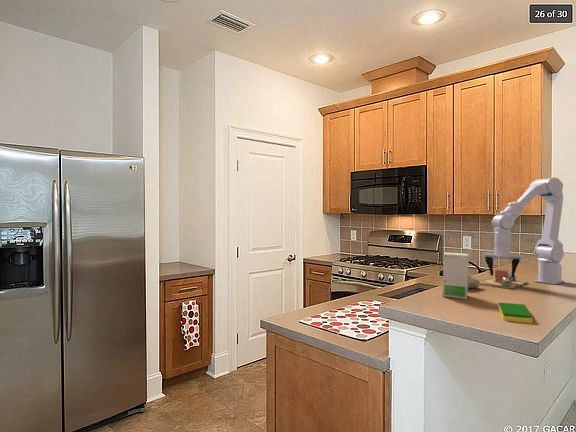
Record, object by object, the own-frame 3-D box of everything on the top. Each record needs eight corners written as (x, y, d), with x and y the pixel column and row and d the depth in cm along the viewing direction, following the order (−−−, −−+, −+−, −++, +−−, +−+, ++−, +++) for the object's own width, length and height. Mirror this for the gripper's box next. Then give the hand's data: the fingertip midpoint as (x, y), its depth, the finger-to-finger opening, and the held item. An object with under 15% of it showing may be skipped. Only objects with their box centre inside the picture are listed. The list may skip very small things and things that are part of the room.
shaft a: (508, 279, 165) (508, 271, 165) (516, 280, 162) (516, 272, 162) (502, 280, 162) (502, 272, 162) (511, 281, 160) (511, 274, 160)
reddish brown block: (497, 280, 161) (497, 268, 161) (509, 281, 159) (509, 269, 159) (495, 282, 158) (495, 270, 158) (507, 283, 155) (507, 271, 155)
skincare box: (442, 296, 137) (442, 253, 137) (444, 293, 143) (444, 251, 143) (467, 299, 133) (467, 255, 133) (468, 295, 139) (468, 252, 139)
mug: (485, 290, 148) (476, 269, 146) (462, 300, 150) (452, 280, 147) (477, 282, 155) (468, 262, 153) (454, 292, 157) (445, 272, 155)
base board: (498, 279, 169) (498, 277, 169) (527, 283, 159) (527, 281, 159) (478, 284, 159) (478, 282, 159) (508, 289, 149) (508, 286, 149)
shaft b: (499, 283, 155) (499, 276, 155) (509, 284, 154) (509, 276, 154) (501, 285, 151) (501, 277, 151) (511, 286, 150) (511, 278, 150)
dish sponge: (503, 321, 108) (503, 313, 108) (498, 309, 121) (498, 302, 121) (532, 324, 105) (532, 316, 105) (524, 312, 118) (524, 304, 118)
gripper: (481, 243, 159) (481, 275, 160) (521, 245, 151) (521, 279, 151) (484, 242, 165) (484, 273, 165) (523, 243, 156) (523, 276, 157)
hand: (502, 276), depth 158 cm, fingers open, 7 cm apart
